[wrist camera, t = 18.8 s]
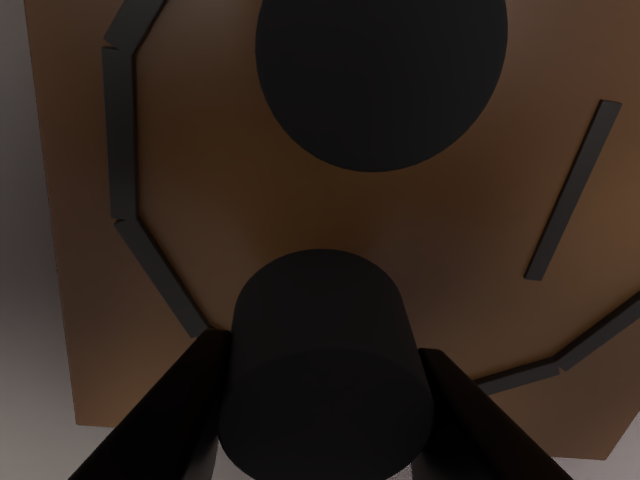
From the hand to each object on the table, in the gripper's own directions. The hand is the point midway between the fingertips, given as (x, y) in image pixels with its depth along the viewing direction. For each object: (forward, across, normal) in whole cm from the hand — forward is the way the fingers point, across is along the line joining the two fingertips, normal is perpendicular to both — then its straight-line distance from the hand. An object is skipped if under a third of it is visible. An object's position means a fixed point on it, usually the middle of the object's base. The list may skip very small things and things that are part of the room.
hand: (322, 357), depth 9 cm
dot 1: (+3, 0, -5) cm, 6 cm away
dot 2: (+1, 0, 0) cm, 1 cm away
